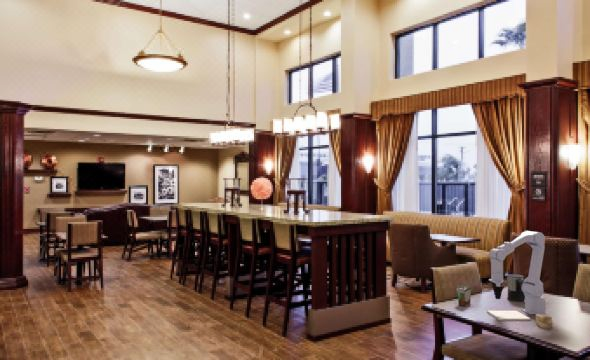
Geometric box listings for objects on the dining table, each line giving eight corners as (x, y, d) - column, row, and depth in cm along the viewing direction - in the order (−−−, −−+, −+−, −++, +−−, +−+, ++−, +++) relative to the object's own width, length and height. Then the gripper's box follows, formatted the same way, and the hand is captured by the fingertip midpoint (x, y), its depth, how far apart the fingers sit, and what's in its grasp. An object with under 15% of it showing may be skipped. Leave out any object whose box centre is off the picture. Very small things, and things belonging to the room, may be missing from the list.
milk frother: (503, 298, 263) (503, 274, 263) (523, 296, 267) (523, 272, 268) (522, 304, 249) (522, 279, 249) (543, 302, 254) (543, 277, 254)
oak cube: (545, 324, 215) (545, 314, 215) (551, 327, 210) (551, 317, 210) (535, 324, 214) (535, 314, 215) (541, 327, 210) (541, 317, 210)
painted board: (516, 312, 234) (516, 310, 234) (530, 320, 220) (530, 318, 220) (487, 312, 234) (487, 310, 234) (499, 320, 220) (499, 318, 220)
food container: (460, 301, 256) (460, 284, 256) (471, 303, 252) (471, 286, 253) (453, 305, 247) (453, 288, 247) (464, 307, 243) (464, 290, 243)
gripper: (488, 268, 236) (488, 293, 236) (489, 273, 223) (489, 299, 223) (502, 269, 234) (502, 294, 234) (504, 274, 220) (505, 301, 220)
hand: (497, 297), depth 228 cm, fingers open, 7 cm apart
